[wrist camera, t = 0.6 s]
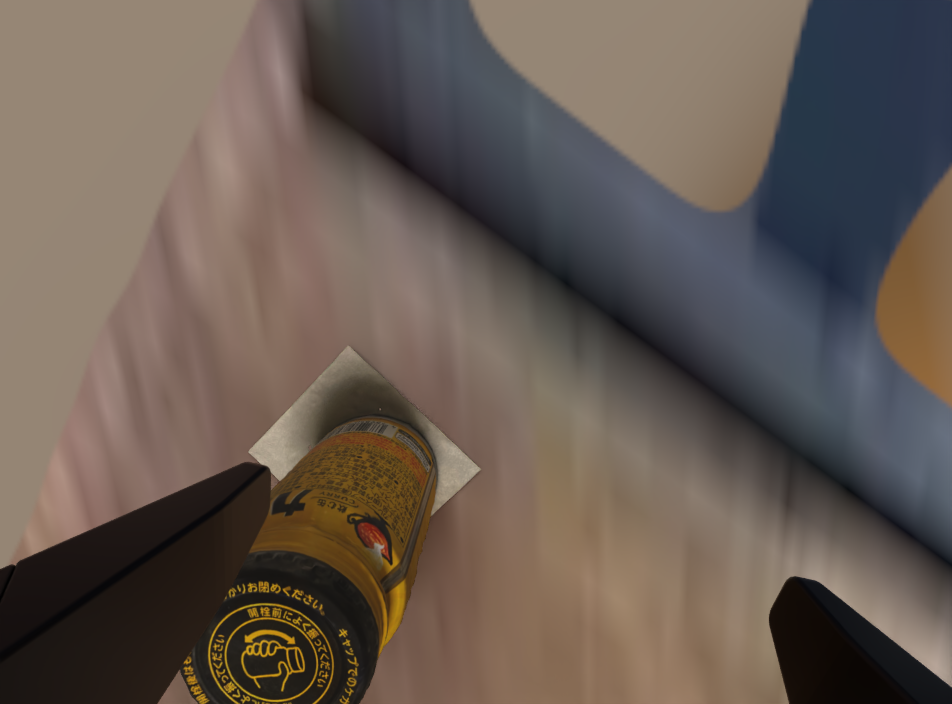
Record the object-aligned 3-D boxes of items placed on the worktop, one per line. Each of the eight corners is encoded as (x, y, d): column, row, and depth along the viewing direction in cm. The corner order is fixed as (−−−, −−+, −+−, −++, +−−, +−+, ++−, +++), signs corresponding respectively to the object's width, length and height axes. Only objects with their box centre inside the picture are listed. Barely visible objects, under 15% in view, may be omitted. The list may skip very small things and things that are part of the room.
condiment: (378, 566, 26) (280, 822, 14) (249, 450, 25) (28, 617, 13) (481, 467, 25) (470, 653, 13) (350, 343, 24) (209, 419, 12)
